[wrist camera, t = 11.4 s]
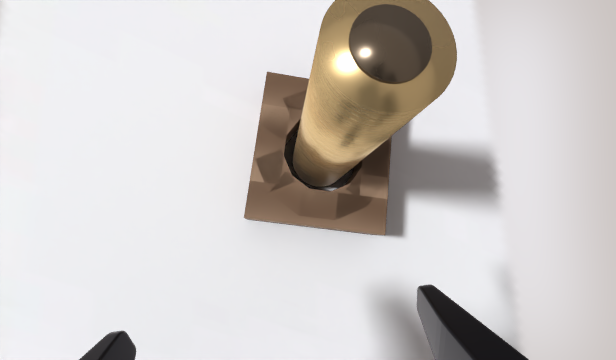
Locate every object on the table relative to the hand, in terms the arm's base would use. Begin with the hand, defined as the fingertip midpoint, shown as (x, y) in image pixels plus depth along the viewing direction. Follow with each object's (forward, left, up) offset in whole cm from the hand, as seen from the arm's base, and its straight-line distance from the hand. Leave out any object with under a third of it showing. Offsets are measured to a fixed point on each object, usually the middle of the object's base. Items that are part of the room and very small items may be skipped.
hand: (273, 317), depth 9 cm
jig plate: (+9, -3, -13) cm, 16 cm away
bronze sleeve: (+9, -3, -13) cm, 16 cm away
